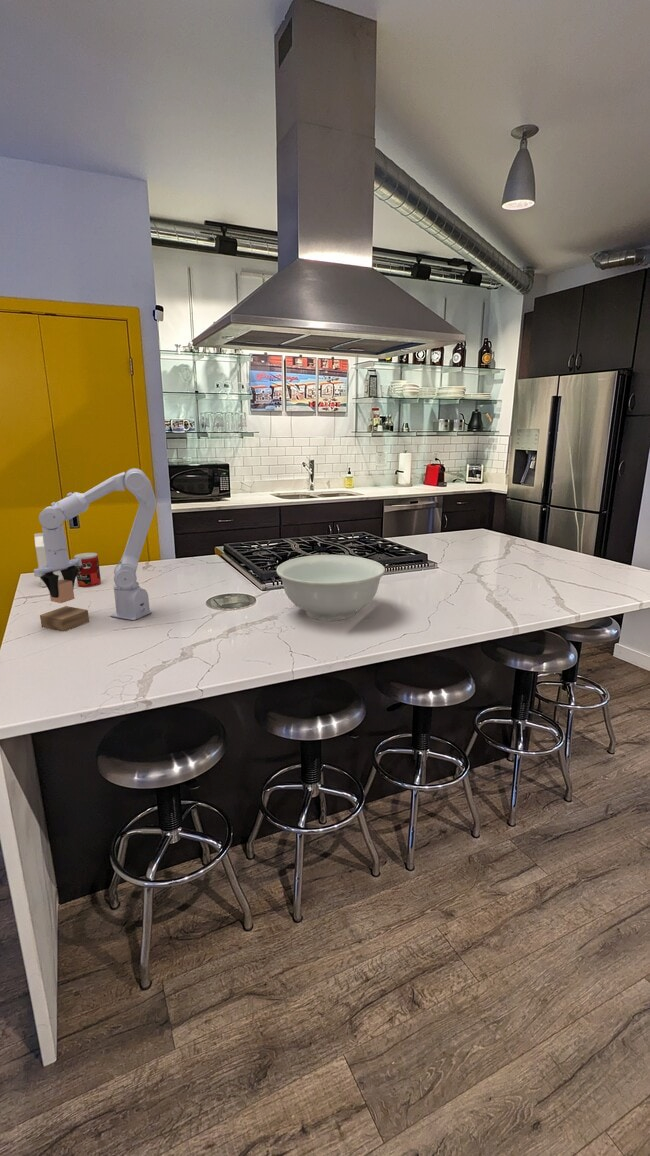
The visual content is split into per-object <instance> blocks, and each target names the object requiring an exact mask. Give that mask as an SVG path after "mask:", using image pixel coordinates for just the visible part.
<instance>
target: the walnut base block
mask: <svg viewBox="0 0 650 1156" xmlns="http://www.w3.org/2000/svg"><path fill="white" fill-rule="evenodd" d="M39 619H40V625H41V628H43V627H44V629H49V630H53V631H57V630H58V631H59V632H62V631H63V632H64V631H65V632H67V631H69V629H70V630H72V629H74V628H75V629H76V628H77V627H80V626H82V625H84V624H87V623H90V616H89V610H88V609H86V608H85V609H84V608H79V607H73V606H69V605H68V606H67V605H65V606H63V607H59V608H57V609H53V610H50V611H48V612H45V613H42V614H40V615H39ZM63 632H62V633H63Z"/></svg>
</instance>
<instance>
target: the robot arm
mask: <svg viewBox="0 0 650 1156" xmlns="http://www.w3.org/2000/svg"><path fill="white" fill-rule="evenodd" d="M126 489H127V490H128V491H129V492H130V493H131V494H132V495H134V496H135V499H136V501H137V502H138V508H137V511H136V515H135V517H134V520H133V523H132V527H131V530H130V533H129V535H128V538H127V542H126V545H125V548H124V552H123V553H122V556H121V557H120V558H121V559H120V561H119V562H118V563H117V564H116V565H115V567H114V569H113V574H114V575H113V582H114V585H113V593H114V602H115V610H116V612H113V613H111V614H110V617H112V618H113V617H114V618H118V619H124V620H128V621H136V620H138V619H141V618H143V617H145V616H148V615H149V614H152V613H153V611H152V610H150V609H151V608H150V602H149V601H150V600H149V594H148V591H147V590H146V589H144V588H142V587H141V586H140V583H139V582H138V581H137V578H138V577H137V570H138V566H139V561H140V557H141V554H142V551H143V547H144V545H145V542H146V538H147V535H148V532H149V529H150V527H151V525H152V520H153V518H154V515H155V511H156V508H157V505H158V501H157V497H156V496H155V492H154V490H153V485H152V482H151V480H150V478H148V476H147V475H146V473H145V472H144V471H143V470H142V469H140V468H135V467H134V468H133V467H132V468H129V469H128V470H127V471H126V472H125V471H122V472H120V473H118V474H115V475H113V476H111V477H109V478H107V479H105V480H104V481H102V482H101V483H98V484H97V485H95V486H94V487H92V488H90V489H88V490H87V491H85V492H84V493H82V492H81V493H80V492H77V491H74V492H73V493H72V492H71V491H70V492H69V493H66V497H64V498H62V499H60V500H58V501H56V502H55V501H53V502H52V503H51V504H50V505H51V506H47V507H45V508H43V510H42V511H40V513H39V515H38V521H39V523H40V525H41V526H42V527H41V531H42V533H43V541H44V548H45V554H46V561H47V563H46V565H45V566H42V567H40V568H39V567H37V568H34V569H33V576H34V577H36V578H37V577H38V578H39V579H40V578H41V579H42V580H43V582H44V583H45V584H46V586H47V587H46V588H47V589H48V593H49V592H50V593H49V595H50V594H51V597H54V598H57V597H58V596H59V593H58V577H59V575H55V574H53V572H56V571H61V573H62V576H63V580H70V581H72V585H73V590H74V589H75V588H74V587H75V582H76V580H77V574H78V572H79V568H75V566H81V565H82V562H81V559H77V558H76V559H74V558H73V559H72V558H71V559H69V554H68V553H69V552H68V548H67V546H68V545H67V539H66V532H65V528H64V524H63V522H64V521H66V522H67V521H70V520H71V519H73V518H75V517H78V516H79V515H80V514H83V513H84V512H86V511H88V509H89V506H90V503H92V502H94V501H97V500H98V499H101V498H102V497H104V496H106V495H108V494H111V493H112V492H116V491H117V492H125V491H126Z"/></svg>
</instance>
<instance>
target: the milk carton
mask: <svg viewBox="0 0 650 1156" xmlns="http://www.w3.org/2000/svg"><path fill="white" fill-rule="evenodd" d="M33 536H34V546H35V552H36V560H37V565H38V566H37V568H40V567H42V566H45V565H46V563H47V561H46V554H45V548H44V541H43V532H39V533H34V534H33ZM53 574H55V575H59V577H58V580H60V579H63V576H62V573H61V571H56V572H53ZM39 579H40V580H39V581H40V586H41V588H47V586H46V584H45V583H44V582H43V580H42V579H41V578H40V577H39ZM63 580H64V579H63Z"/></svg>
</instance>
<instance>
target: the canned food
mask: <svg viewBox="0 0 650 1156" xmlns="http://www.w3.org/2000/svg"><path fill="white" fill-rule="evenodd" d="M76 558H77V559H81V562H82V565H81V566H75V568H79V572H78V574H77V576H76V582H77V583H76V584H77V586H78V587H81V588H91V587H96V586H98V585H100V584H101V582H102V579H101V573H100V572H101V570H100V562H99V555H98V553H96V552H84V553H77V554H74V556H73V559H76Z"/></svg>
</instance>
